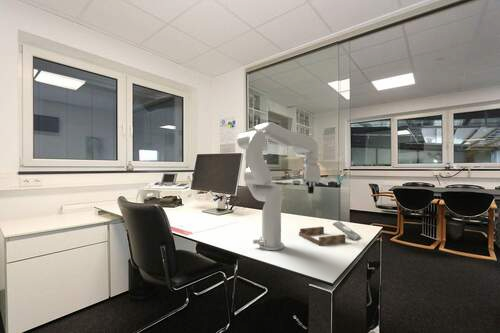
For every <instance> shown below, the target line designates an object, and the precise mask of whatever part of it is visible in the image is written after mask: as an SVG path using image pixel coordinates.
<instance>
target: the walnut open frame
mask: <svg viewBox="0 0 500 333" xmlns="http://www.w3.org/2000/svg"><path fill="white" fill-rule="evenodd" d="M324 233H325V227H324V226H316V227H315V226H313V227H303V228H302V227H301V228H299V232H298V236H299V237H301V238H303V239H304V240H307V241H308V242H311V243H313V244H315V245H317V246H327V245H335V244H343V243H344V244H345V243H346V234H345V233H343V234H334V235H325V236H319V237H318V239H317V238H314V237H313V235H314V236H315V235H323V234H324Z"/></svg>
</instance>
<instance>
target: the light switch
mask: <svg viewBox="0 0 500 333" xmlns="http://www.w3.org/2000/svg"><path fill="white" fill-rule="evenodd" d="M332 226H334V227H335V228H336V229H338V230H339V231H341V232H342V233H343V234H344V235H345V236H348V237H349V238H350V239H352V240H353V241H357V240H359V239H360V238H361V235H360V234H359V233H357V232H355V231H354V230H352V229H351V228H350V227H349V226H347V225H346V224H344V223H343V222H341V221H340V220H338V221H336V222H333V223H332Z"/></svg>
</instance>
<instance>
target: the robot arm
mask: <svg viewBox="0 0 500 333" xmlns="http://www.w3.org/2000/svg"><path fill="white" fill-rule="evenodd" d="M266 140H270V141H273V142H275V143H277V144H279V145H281V146H285V147H292V151H294V152H295V153H297V154H304V159H303V160H302V162H303V166H302V173H301V180H302V184H305V186H306V187H307V193H308V194H312V195H313V194H314V190H315V187H316V185H317V184H320V181H321V169H320V164H319V160H318V158H319V143H318V142H317V140H316V139H314V138H313V137H312V136H310V135H308V134H305V133H302V132H301V133H300V132H297V131H292V130H289V129H287V128H285V127H282V126H281V125H279V124H277V123H275V122H272V121H267V122H263V123H259V124H257V125H255V126H253V127H251V128H249V129H247V130H245V131H243V132H241V133H240V134H239V135H238V137H237V140H236V141H237V142H236V143H237V146H238V147H239V148H241V149H242V150H246V151H245V162H246V164H247V168H245V170H244V172H243V179H244V182H245V184H246V186H247V188H248V190H249V192H250V194H251V195H252V197H253V198H254V199H255V200H256V201H258V202H262V203H263V202H264V204H263V207H262V210H261V211H262V212H261V221H262V222H261V230H262V231H261V236H260V238H258V239H253V240H252V244H254V245H258V247H259V248H260V249H262V250H265V251H279V250H282V249H284V248H285V243H284V242H282V203H283V202H282V201H283V199H284V191H283V189H282V187H281V186H280V185H278V184H275V183H272V180H273V176H272V173H271V170H270V168H269V167H268V165H267V163H266V160H265V158H264V154H263V150H264V146H265V144H266Z"/></svg>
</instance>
